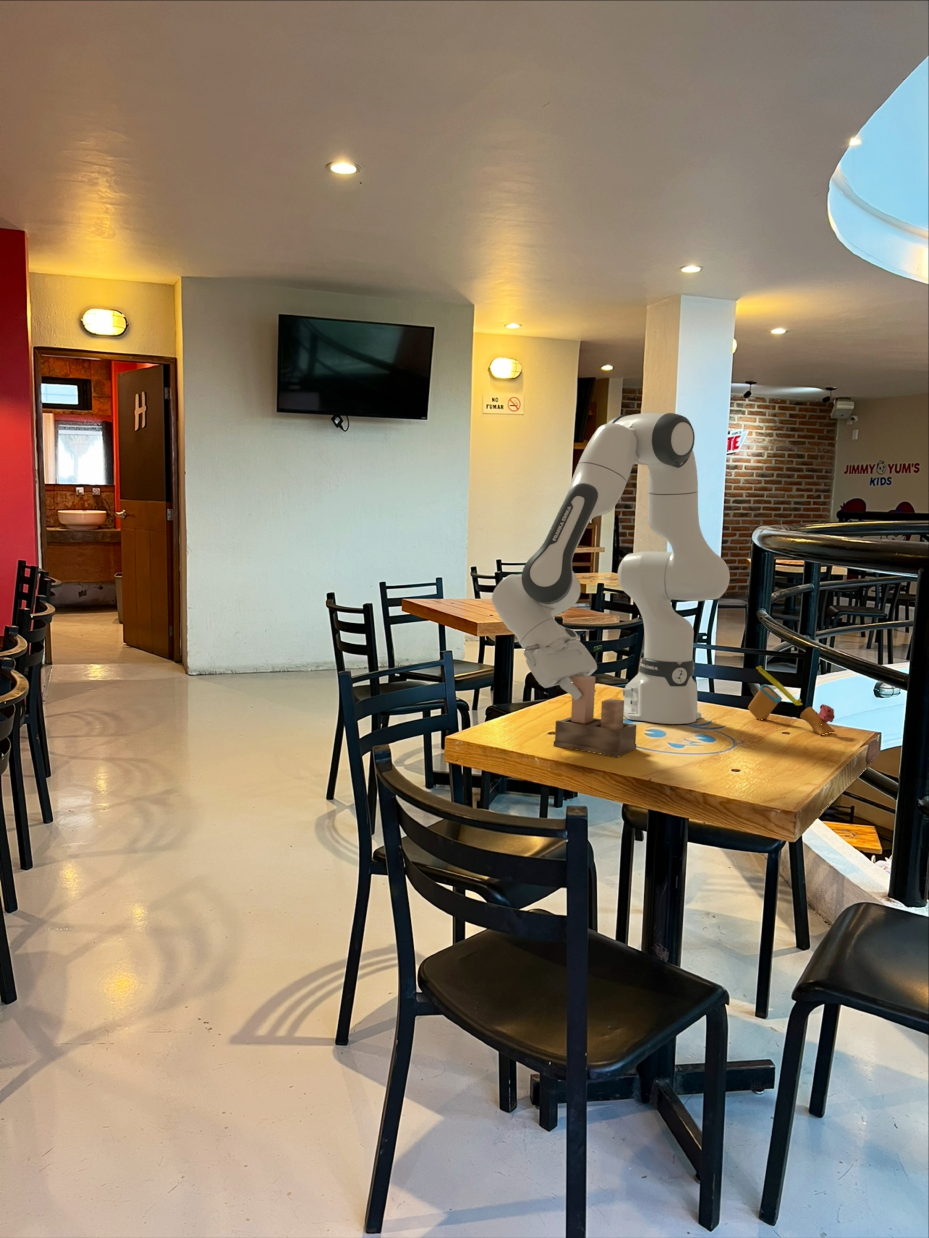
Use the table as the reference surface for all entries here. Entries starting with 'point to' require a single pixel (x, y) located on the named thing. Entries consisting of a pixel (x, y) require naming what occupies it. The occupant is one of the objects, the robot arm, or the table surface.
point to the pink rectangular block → (584, 699)
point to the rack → (599, 732)
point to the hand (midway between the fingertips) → (586, 696)
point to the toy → (769, 699)
